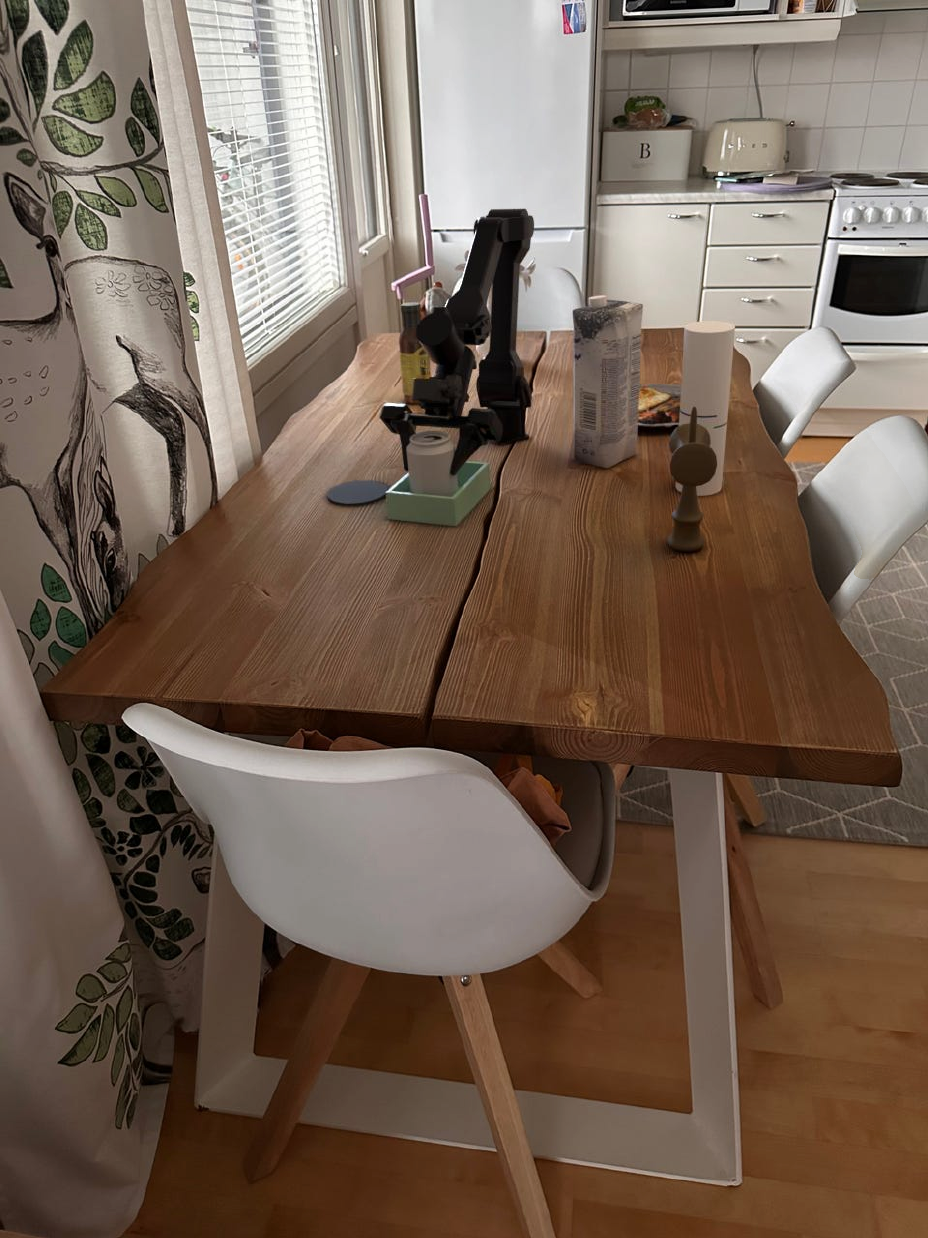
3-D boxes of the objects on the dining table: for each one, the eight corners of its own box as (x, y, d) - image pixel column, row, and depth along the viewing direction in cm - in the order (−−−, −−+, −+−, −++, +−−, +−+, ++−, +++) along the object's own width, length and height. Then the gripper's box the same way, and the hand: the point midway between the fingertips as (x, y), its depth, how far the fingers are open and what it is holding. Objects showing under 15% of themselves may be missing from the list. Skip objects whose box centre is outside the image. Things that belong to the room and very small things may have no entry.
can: (467, 502, 148) (462, 429, 142) (446, 521, 142) (441, 446, 136) (425, 497, 151) (419, 425, 145) (403, 515, 145) (396, 441, 139)
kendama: (664, 561, 126) (672, 418, 116) (662, 531, 134) (669, 395, 124) (710, 562, 125) (721, 417, 115) (705, 532, 133) (715, 394, 123)
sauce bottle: (429, 404, 194) (421, 307, 184) (400, 404, 195) (391, 307, 186) (436, 395, 200) (428, 300, 190) (408, 395, 201) (399, 300, 191)
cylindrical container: (670, 480, 150) (678, 323, 138) (713, 476, 151) (725, 319, 138) (682, 497, 144) (692, 334, 132) (727, 493, 145) (742, 330, 132)
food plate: (659, 444, 165) (660, 425, 164) (564, 418, 181) (564, 401, 179) (741, 410, 179) (743, 392, 177) (646, 389, 195) (647, 372, 193)
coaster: (377, 478, 159) (376, 476, 159) (395, 497, 151) (395, 495, 151) (320, 489, 156) (320, 487, 156) (336, 510, 148) (336, 508, 148)
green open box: (427, 482, 156) (425, 457, 154) (490, 488, 152) (489, 462, 150) (388, 519, 144) (385, 492, 142) (456, 526, 140) (454, 498, 138)
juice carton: (643, 454, 162) (650, 293, 148) (608, 472, 155) (611, 306, 142) (601, 444, 167) (604, 288, 154) (566, 461, 161) (565, 300, 147)
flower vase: (537, 365, 216) (535, 251, 203) (458, 368, 217) (452, 255, 205) (537, 351, 227) (535, 242, 215) (462, 354, 229) (456, 246, 216)
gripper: (378, 351, 141) (353, 444, 138) (493, 355, 134) (470, 454, 131) (404, 387, 151) (381, 475, 148) (512, 393, 145) (491, 485, 141)
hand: (428, 472), depth 142 cm, fingers closed on can, 7 cm apart
